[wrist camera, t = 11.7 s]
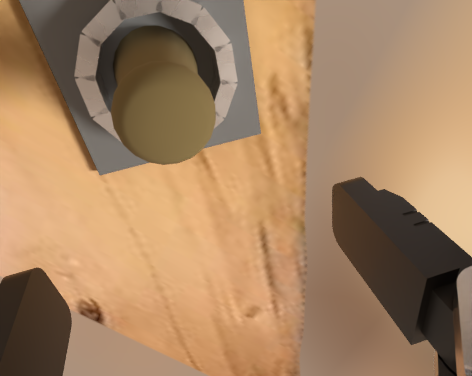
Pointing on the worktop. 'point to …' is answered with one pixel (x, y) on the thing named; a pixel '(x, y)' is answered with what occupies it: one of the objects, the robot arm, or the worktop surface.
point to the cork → (160, 97)
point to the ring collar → (138, 4)
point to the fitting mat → (64, 63)
